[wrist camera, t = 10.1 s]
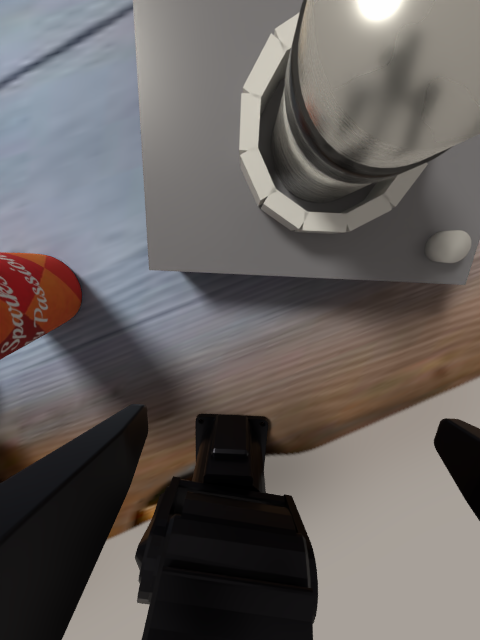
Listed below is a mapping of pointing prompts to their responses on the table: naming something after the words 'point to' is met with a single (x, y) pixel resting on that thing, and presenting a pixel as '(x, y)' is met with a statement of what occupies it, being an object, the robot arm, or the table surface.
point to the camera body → (257, 166)
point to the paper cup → (34, 298)
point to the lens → (375, 92)
